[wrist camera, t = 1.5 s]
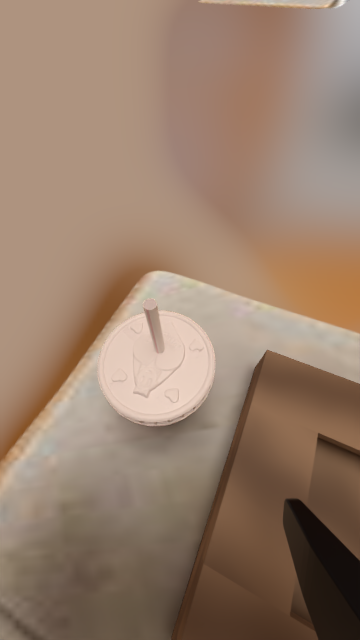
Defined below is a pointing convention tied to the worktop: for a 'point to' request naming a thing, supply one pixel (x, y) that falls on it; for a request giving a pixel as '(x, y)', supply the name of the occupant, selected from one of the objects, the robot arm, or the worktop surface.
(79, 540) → the worktop surface
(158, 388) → the smoothie
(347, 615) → the robot arm
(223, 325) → the worktop surface
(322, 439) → the walnut box
